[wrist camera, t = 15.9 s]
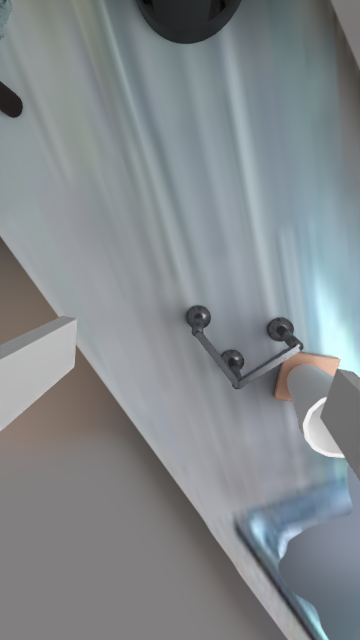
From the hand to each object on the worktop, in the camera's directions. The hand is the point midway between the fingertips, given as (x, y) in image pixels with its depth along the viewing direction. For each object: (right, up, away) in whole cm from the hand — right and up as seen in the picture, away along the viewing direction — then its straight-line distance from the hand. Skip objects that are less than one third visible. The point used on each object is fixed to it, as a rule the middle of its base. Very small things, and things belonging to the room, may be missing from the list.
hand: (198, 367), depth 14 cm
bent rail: (+9, -1, +34) cm, 35 cm away
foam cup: (+21, -8, +34) cm, 41 cm away
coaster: (+21, -8, +35) cm, 41 cm away
